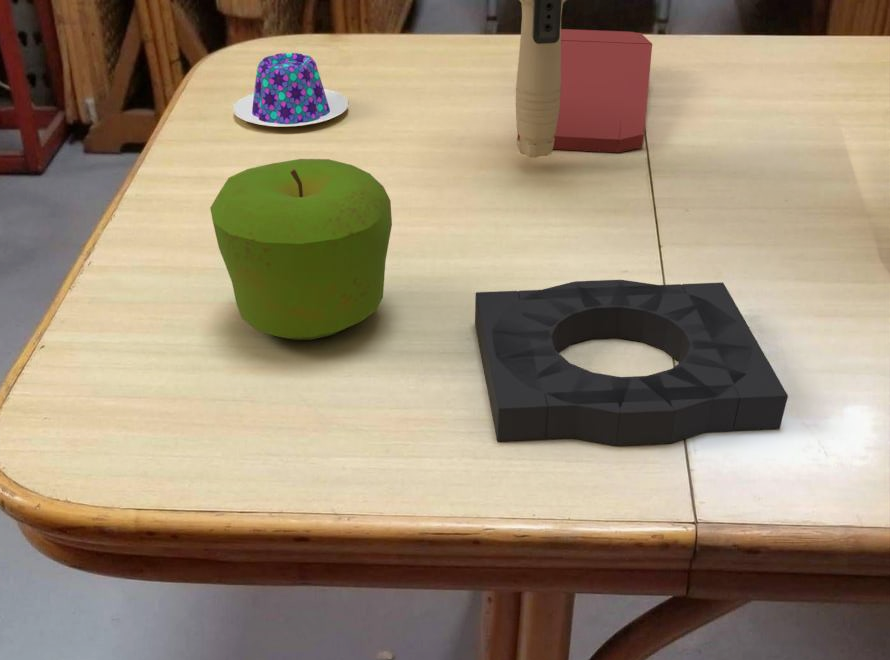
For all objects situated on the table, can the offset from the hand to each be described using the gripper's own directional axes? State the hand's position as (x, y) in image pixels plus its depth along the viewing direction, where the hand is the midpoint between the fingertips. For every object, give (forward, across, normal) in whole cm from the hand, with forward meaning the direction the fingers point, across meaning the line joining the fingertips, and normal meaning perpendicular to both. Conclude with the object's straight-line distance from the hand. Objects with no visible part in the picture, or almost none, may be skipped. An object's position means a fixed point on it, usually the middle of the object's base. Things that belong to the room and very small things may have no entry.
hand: (540, 31), depth 92 cm
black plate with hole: (+12, -36, -1) cm, 38 cm away
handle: (+11, 0, 0) cm, 11 cm away
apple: (+12, -27, +20) cm, 36 cm away
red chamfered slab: (+12, +16, -8) cm, 22 cm away
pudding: (+12, +17, +23) cm, 31 cm away
